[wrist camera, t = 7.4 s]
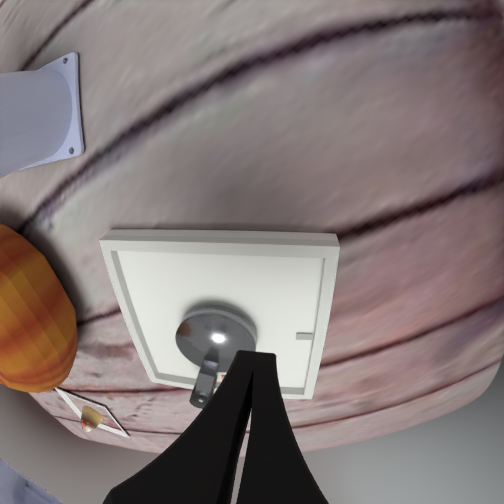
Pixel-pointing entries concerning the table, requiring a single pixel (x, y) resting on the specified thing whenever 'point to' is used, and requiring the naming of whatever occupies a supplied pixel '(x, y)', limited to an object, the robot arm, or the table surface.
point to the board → (226, 294)
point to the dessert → (90, 415)
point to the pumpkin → (33, 319)
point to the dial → (213, 344)
